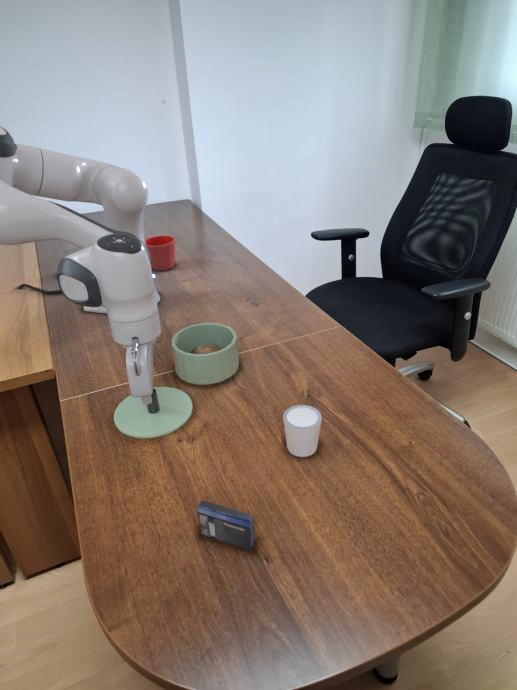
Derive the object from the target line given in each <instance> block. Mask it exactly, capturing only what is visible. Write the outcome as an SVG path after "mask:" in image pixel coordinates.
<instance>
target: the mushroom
mask: <svg viewBox="0 0 517 690" xmlns="http://www.w3.org/2000/svg"><path fill="white" fill-rule="evenodd" d="M219 350H221V348H219V347H217V346H214V345H204V346H198V347H196V348H194V349H193V350H192V351H191V353H192V354H208V353H212V352H217V351H219Z"/></svg>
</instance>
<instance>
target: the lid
mask: <svg viewBox="0 0 517 690" xmlns="http://www.w3.org/2000/svg"><path fill="white" fill-rule="evenodd" d="M151 396H152V403H150V404H143V403H142V400H141V397H133V396H132V394H130V395H128V396H126V398H124V399H123V400H122V401H121V402H120V403H119V404H118V405H117V407H116V408H115V410H114V413H113V423H114V426H115V428H116V429H117V430H118V431H119V432H120V433H121V434H124V435H125V436H127V437H131V438H134V439H154V438H160V437H163V436H166V435H169V434H171V433H173V432H175V431H177V430H179V429H180V428H181V427H182V426H184V425H185V424H186V423H187V422H188V421H189V420H190V418H191V416H192V414H193V410H194V406H193V405H194V404H193V400H192V399H191V397H190V396H189V394H187V393H186V392H185V391H183V390H182V389H179V388H176V387H171V386H154V387H153V393H152V395H151Z"/></svg>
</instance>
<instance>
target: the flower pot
mask: <svg viewBox="0 0 517 690" xmlns="http://www.w3.org/2000/svg"><path fill="white" fill-rule="evenodd" d="M145 244H146V247H147V249H148V251H149V253H150V257H151V268H152V270H154V271H158V272H159V271H160V272H163V271H167V270H168V271H169V270H170V269H173V268H174V267H175V262H176V261H175V260H176V259H175V258H176V239H175V237H174V236H172V235H155V236H151V237H149V238H145Z"/></svg>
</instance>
